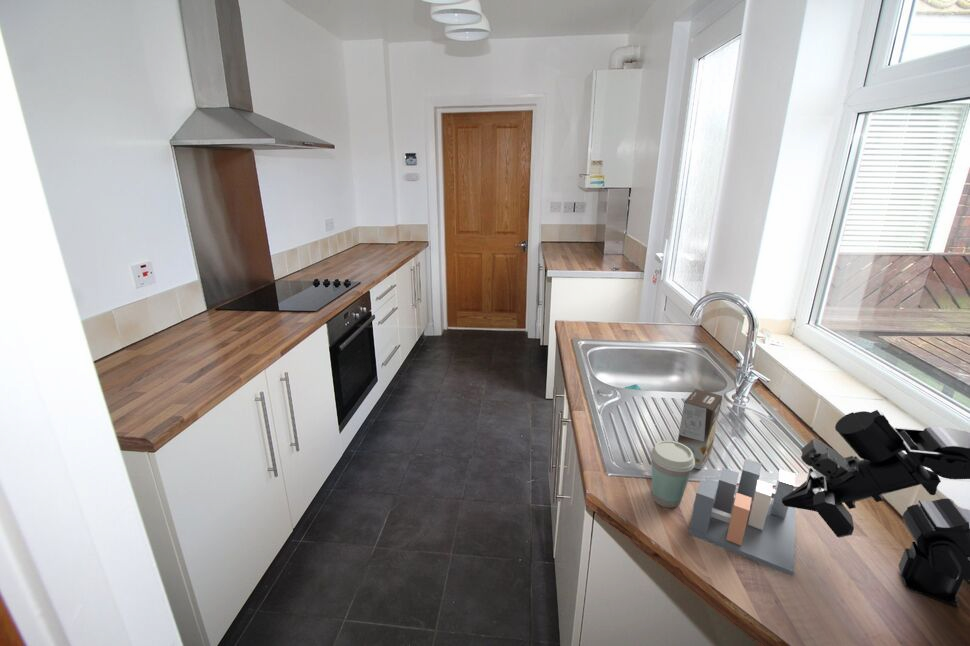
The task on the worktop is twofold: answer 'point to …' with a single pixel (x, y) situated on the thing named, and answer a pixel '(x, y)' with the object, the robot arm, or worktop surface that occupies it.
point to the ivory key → (759, 504)
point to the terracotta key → (735, 518)
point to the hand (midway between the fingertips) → (783, 502)
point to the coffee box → (700, 424)
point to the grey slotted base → (757, 545)
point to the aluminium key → (781, 493)
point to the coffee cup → (670, 472)
